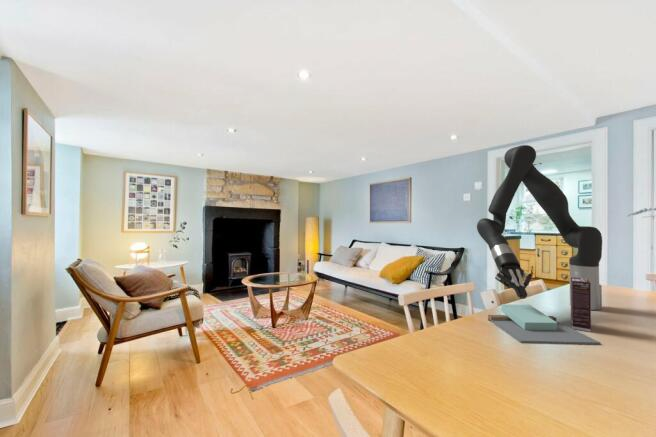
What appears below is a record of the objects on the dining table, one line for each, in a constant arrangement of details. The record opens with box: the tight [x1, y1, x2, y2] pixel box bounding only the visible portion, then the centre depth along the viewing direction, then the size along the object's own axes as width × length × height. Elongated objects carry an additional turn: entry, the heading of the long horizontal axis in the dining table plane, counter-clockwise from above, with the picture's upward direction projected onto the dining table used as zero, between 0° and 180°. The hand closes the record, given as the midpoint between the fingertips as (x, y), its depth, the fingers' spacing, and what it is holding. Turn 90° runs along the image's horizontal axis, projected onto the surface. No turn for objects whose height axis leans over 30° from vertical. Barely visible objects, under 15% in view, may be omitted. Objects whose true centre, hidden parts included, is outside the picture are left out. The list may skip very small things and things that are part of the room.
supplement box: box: [570, 277, 592, 333], centre depth 98 cm, size 9×5×16 cm, turn 143°
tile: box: [500, 303, 558, 330], centre depth 100 cm, size 2×10×14 cm
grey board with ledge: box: [487, 314, 602, 346], centre depth 94 cm, size 20×22×2 cm
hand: (523, 297), depth 102 cm, fingers closed
